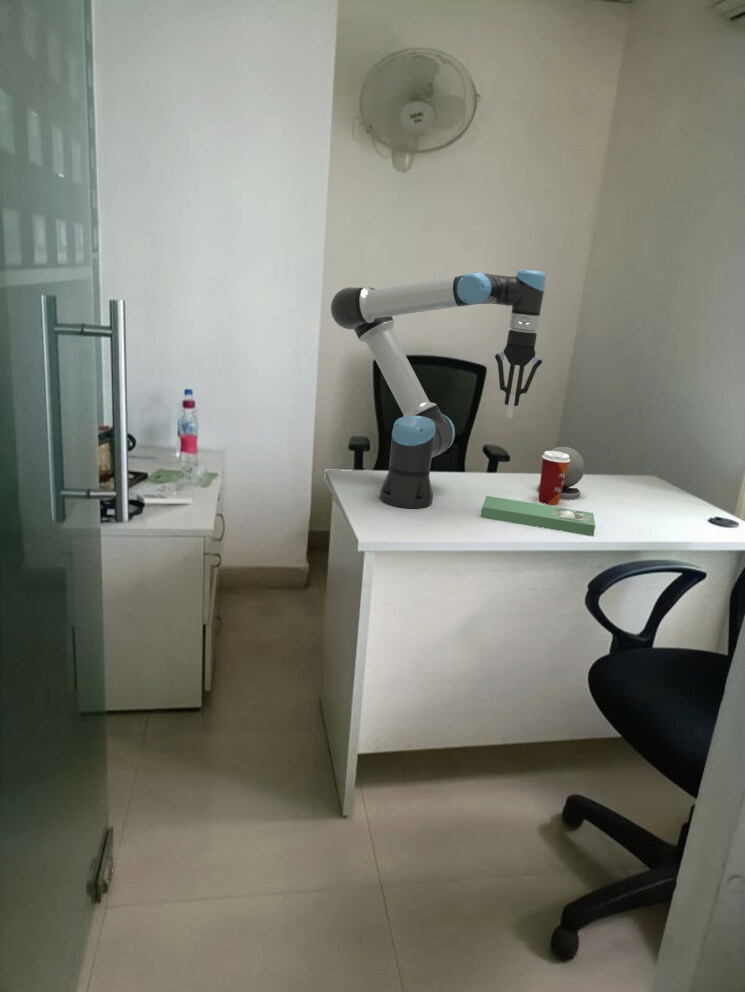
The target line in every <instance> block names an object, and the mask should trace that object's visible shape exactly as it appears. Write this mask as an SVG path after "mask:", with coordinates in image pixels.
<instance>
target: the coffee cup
mask: <svg viewBox="0 0 745 992" xmlns="http://www.w3.org/2000/svg"><path fill="white" fill-rule="evenodd" d="M541 458H542V462H541V472H540V480H539V484H540V488H539V492H538V499H537V500H539V501H538V502H539V503H541V504H544V503H545V504H544V505H548V504H549V505H548V506H556V505H555V504H557V505H558V504H559V502H560V500H561V499H560V495H561V491H562V487H563V483H564V479H565V475H566V471H567V467H568V463H569V462H570V459H569V455H568V454H566V453H562V452H557V451H551V450H546V451H544V452H543V455H541Z"/></svg>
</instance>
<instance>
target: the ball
mask: <svg viewBox="0 0 745 992" xmlns="http://www.w3.org/2000/svg"><path fill="white" fill-rule="evenodd" d="M561 515H562V516H564V517H566V518H570V519H575V515H574V513H573V512H571V511H564V512H563V513H562V514H561Z"/></svg>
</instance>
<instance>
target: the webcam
mask: <svg viewBox="0 0 745 992" xmlns="http://www.w3.org/2000/svg"><path fill="white" fill-rule="evenodd" d="M550 451H557V452H562V453H566V454H568V455H569V459H570V462H569V463H568V467H567V471H566V475H565V479H564V483H563V487H562V491H561V495H560V499H559V500H565V501H566V500H568V501H570V500H577V499H579V498H580V494H581V492H580V490H579V488H578V487H573V486H575V485H577V484H578V483H579V482H581V479H582V478H583V477H584V476H583V475H584V473H585V465H586V464H585V461H584V458H583V456H582V455H581V454H580V452H578V451H577V450H576V449H574V448H573V447H572V448H571V447H568V446H558V447H555V448H552V449H551V450H550ZM539 488H540V483H539V484H538V487H537V491H538V493H539Z"/></svg>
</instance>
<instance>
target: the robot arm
mask: <svg viewBox="0 0 745 992" xmlns="http://www.w3.org/2000/svg"><path fill="white" fill-rule="evenodd" d="M545 287H546V274H545V272H543V271H539V270H538V271H537V270H530V269H529V270H528V269H519V270H518V271H517V273H516V276H507V275H500V274H499V275H498V274H490V273H481V272H477V271H475V272H469V273H466V274H465V275H464V274H463V275H458V276H451V277H445V278H438V279H433V280H427V281H426V280H425V281H419V282H415V283H406V284H400V285H396V286H387V287H381V288H377V289H376V288H374V287H369V286H368V287H367V286H363V287H345V288H343V289H341V290H339V291H338V292H336V293H335V294H334V296H333V298H332V299H331V302H330V303H331V304H330V313H331V317H332V318H333V320H334V322H336V324H337V325H338V326H339V327H341V328H343V329H346V330H353V332H355V335H356V336H357V338H358V340H359V342H361V343H365V344H366V345H367V347H368V348H369V351H370V352H371V355H372V356H373V358H374V360H375V362H376V364H377V367H378V368H379V370H380V371H381V374H382V375H383V378H384V380H385V381H386V384H387V386H388V387H389V389H390V391H391V393H392V395H393V398H394V399H395V401H396V403H397V405H398V407H399V408H400V411H401V412H402V414H403V416H402V417H399V418H397V419H396V420H395V422H394V423H393V428H392V431H391V443H390V453H389V463H388V464H389V465H388V472H387V474H386V476H385V478H384V481H383V483H382V485H381V488H380V490H379V499H380V500H381V501H382V502H384V503H385V504H388V505H390V506H393V507H394V506H395V507H397V508H405V509H422V508H427V507H430V506H432V504H433V497H434V495H433V489H432V483H431V478H430V472H431V467H432V466H431V464H432V459H433V458H434V457H436V456H440V455H441V454H443V453H445V452H447V450H448V449H449V448H450V447H451V446H452V444H453V442H454V440H455V436H456V430H455V425H454V424H453V422H452V420H451V419H450V418H449V417H448V416H446V415H445V414H443V413H442V412H441V410H440V408H439V406H438V404H437V403H435V402H431V401H430V400H429V398H428V396H427V394H426V392H425V391H424V388H423V387H422V384H421V382H420V381H419V378H418V377H417V375H416V372H415V371H414V369H413V367H412V365H411V363H410V361H409V359H408V358H407V355H406V354H405V351H404V349H403V347H402V345H401V344H400V343H401V342H400V341H399V340H398V338H397V336H396V334H395V332H394V325H395V321H394V318H393V316H400V315H401V316H402V315H407V314H408V315H409V314H417V313H423V312H424V313H425V312H429V311H431V312H432V311H436V310H437V311H438V310H444V309H450V308H451V309H452V308H457V307H466V306H473V305H490V304H491V305H501V306H511V312H510V321H509V326H508V327H509V328H510V329H509V330H508V335H507V340H506V345H505V347H504V348H503V351H501V352H500V353H496V354H495V355H494V358H495V360H496V362H497V363H496V364H497V369H498V371H497V372H498V380H499V389H500V391H503V392H505V397H504V406H507V410H506V411H507V412H506V418H508V419H513V415H514V409H515V408H514V407H518V406H519V403H520V396H521V395H522V394H527V392H528V390H529V389H530V385H531V384H532V381H533V379H534V376H535V374H536V373H537V369H538V368H539V367H540V365H542V363H543V359H541V358H540V357H538V356H537V354H536V351H535V349H536V348H535V347H536V341H537V336H538V335H537V333H536V331H538V329H539V323H540V318H541V316H540V315H541V309H542V305H543V298H544V294H545V291H546V290H545ZM505 358H506V360H507V362H508V363H509V372H508V377H507V384H506V383H505V373H504V363H503V360H505ZM532 360H533V361H532ZM530 362H532V367H531V370H530V372H529V374H528V376H527V379H526V381H525V384H524V386H523V385H522V384H523V378H524V372H525V366H527V365H528V364H529V363H530ZM516 366H519V368H518V376H517V383H516V388H515V392H512V389H513V382H514V374H515V368H516ZM522 386H523V387H522Z"/></svg>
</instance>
